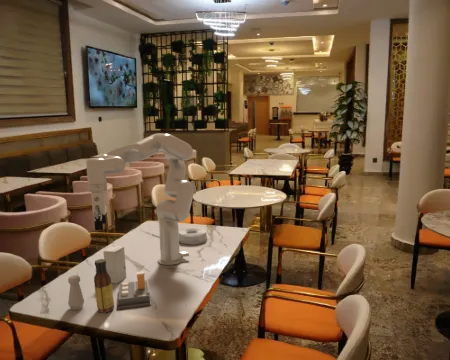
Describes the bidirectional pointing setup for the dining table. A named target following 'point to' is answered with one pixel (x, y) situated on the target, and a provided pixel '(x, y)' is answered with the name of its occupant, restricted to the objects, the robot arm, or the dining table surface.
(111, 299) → the sauce bottle
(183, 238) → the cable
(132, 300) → the breaker panel
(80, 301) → the salt shaker
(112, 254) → the skincare box
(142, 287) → the lever
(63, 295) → the dining table surface
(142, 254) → the dining table surface
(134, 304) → the dark brown grooved strip
